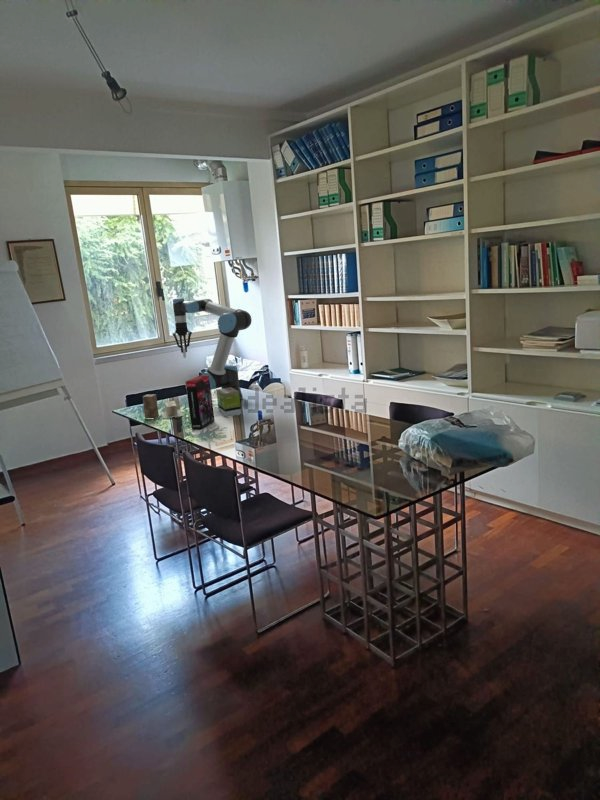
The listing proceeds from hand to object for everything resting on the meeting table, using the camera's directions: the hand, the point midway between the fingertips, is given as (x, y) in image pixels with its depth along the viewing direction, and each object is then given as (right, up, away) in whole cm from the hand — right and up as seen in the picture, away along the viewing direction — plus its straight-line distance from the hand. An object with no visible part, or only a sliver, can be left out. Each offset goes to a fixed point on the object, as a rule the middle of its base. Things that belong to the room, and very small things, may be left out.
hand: (184, 357), depth 390 cm
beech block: (-5, -32, -22) cm, 39 cm away
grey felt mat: (-2, -37, -31) cm, 48 cm away
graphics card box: (+22, -43, -62) cm, 79 cm away
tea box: (+35, -37, -39) cm, 64 cm away
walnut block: (-13, -39, -36) cm, 55 cm away
